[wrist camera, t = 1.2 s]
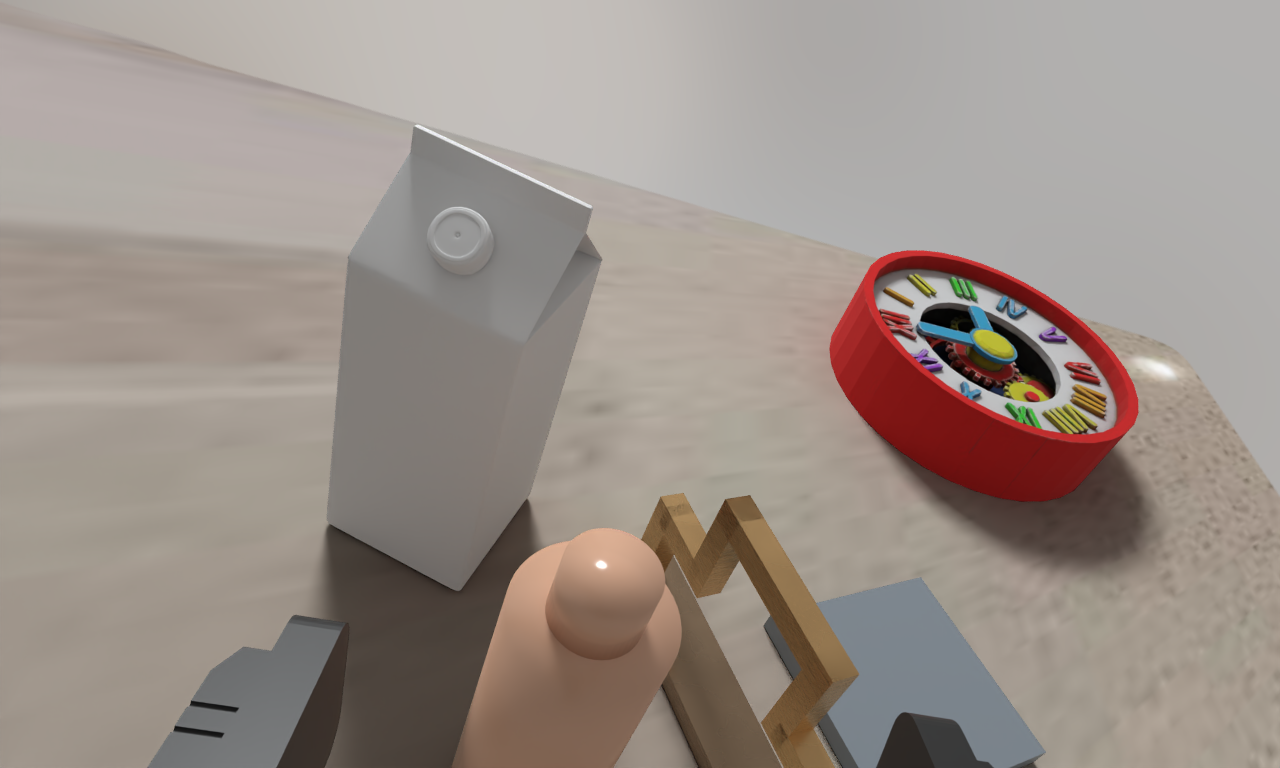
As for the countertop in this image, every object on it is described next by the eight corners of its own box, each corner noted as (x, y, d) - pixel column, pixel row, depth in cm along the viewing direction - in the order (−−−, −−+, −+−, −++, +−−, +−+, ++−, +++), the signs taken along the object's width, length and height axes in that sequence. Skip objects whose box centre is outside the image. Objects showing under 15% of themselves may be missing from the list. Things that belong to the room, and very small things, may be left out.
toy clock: (1191, 471, 54) (897, 402, 51) (1131, 530, 58) (853, 469, 54) (1074, 287, 69) (841, 224, 66) (1032, 343, 73) (810, 286, 69)
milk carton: (410, 435, 46) (465, 96, 34) (530, 496, 45) (629, 172, 33) (324, 524, 40) (353, 157, 28) (458, 595, 39) (547, 250, 27)
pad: (763, 625, 43) (771, 614, 42) (911, 587, 48) (920, 577, 47) (876, 828, 37) (887, 818, 36) (1034, 762, 42) (1045, 752, 41)
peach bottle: (422, 777, 33) (494, 510, 23) (544, 741, 36) (658, 486, 25) (456, 916, 30) (557, 679, 20) (587, 867, 32) (737, 633, 22)
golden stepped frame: (608, 565, 43) (666, 431, 37) (661, 555, 44) (725, 424, 38) (763, 908, 33) (877, 801, 27) (824, 881, 35) (945, 773, 28)
